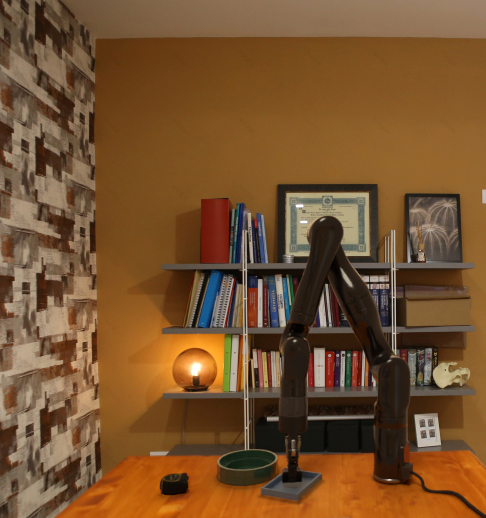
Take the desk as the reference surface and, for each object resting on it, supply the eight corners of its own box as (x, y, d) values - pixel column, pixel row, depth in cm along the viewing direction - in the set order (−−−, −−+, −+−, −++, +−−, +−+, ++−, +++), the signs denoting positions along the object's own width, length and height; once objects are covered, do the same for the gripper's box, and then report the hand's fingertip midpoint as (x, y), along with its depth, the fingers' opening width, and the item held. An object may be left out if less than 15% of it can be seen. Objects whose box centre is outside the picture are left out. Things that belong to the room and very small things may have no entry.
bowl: (287, 469, 140) (288, 453, 140) (257, 492, 124) (257, 473, 125) (239, 462, 145) (239, 446, 145) (204, 482, 130) (204, 465, 130)
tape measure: (188, 496, 122) (188, 480, 122) (158, 499, 120) (158, 483, 120) (188, 485, 128) (189, 470, 129) (160, 488, 126) (161, 473, 126)
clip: (301, 478, 128) (301, 466, 128) (301, 482, 126) (302, 469, 126) (282, 479, 127) (282, 467, 128) (282, 483, 125) (282, 470, 125)
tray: (322, 481, 132) (322, 473, 132) (297, 503, 118) (297, 494, 118) (288, 475, 135) (288, 468, 135) (260, 496, 122) (260, 488, 122)
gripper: (309, 418, 121) (308, 490, 121) (306, 404, 135) (305, 469, 134) (278, 419, 120) (277, 492, 119) (278, 405, 134) (277, 470, 133)
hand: (292, 479), depth 127 cm, fingers closed on clip, 2 cm apart
